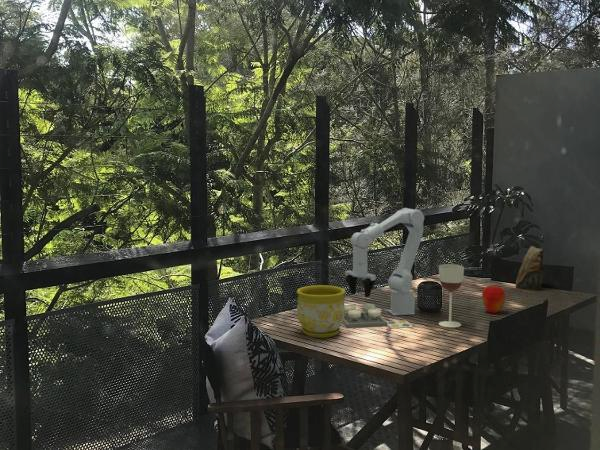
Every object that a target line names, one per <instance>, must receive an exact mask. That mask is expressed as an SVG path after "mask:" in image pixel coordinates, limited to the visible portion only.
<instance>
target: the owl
mask: <svg viewBox="0 0 600 450" xmlns="http://www.w3.org/2000/svg"><path fill="white" fill-rule="evenodd" d="M543 259H544V249H543V248H538V247H536V246H533V245H531V246H530V247H529V248H528V250H527V252H526V254H525V255H524V256H523V259H522V263H521V266H520V267H519V270H518V273H517V277H516V281H515V288H514V289H518V290H528V291H534V292H535V291H536V292H537V291H539V292H540V291H542V284H543V280H544V279H543V277H544V276H543V272H544V260H543Z"/></svg>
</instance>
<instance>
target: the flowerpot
mask: <svg viewBox="0 0 600 450" xmlns="http://www.w3.org/2000/svg"><path fill="white" fill-rule="evenodd" d="M344 289H345V288H344ZM344 289H343V287H339V286H336V285H327V284H325V285H323V284H317V285H315V284H313V285H307V286H302V287H300V288H297V290H296V294H297V295H298V296H297V308H296V313H297V319H298V322H299V323H300V325H301V327H302V328H301V331H302V332H303V333H304V334H305V335H306V336H308V337H312V338H323V339H324V338H331V337H335V336H336V335H338V333H339V332H340V331H341V328H340V327H341V326H342V324H343V323H342V322H343V320H344V315H345V313H346V312H345V306H344V305H345V299H344V294H345V295H346V291H345V290H344Z"/></svg>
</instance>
